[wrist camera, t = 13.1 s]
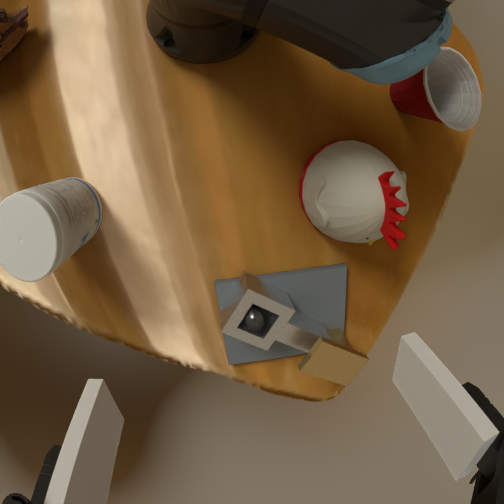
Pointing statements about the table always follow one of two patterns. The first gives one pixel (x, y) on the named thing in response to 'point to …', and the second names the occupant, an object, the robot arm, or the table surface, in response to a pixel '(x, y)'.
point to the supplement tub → (46, 226)
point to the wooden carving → (12, 29)
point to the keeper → (333, 359)
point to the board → (304, 301)
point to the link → (268, 316)
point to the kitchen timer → (354, 193)
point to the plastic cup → (441, 92)
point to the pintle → (254, 318)
